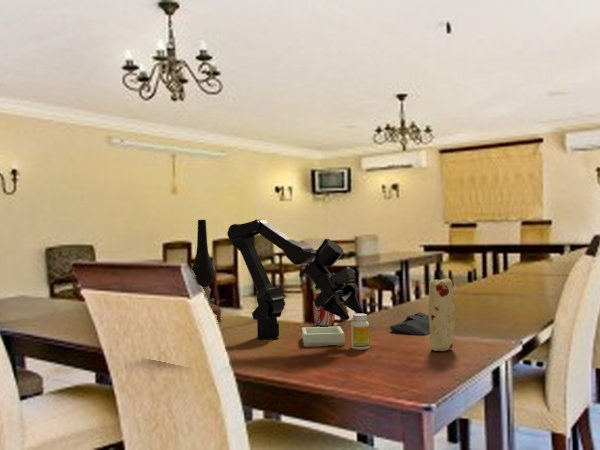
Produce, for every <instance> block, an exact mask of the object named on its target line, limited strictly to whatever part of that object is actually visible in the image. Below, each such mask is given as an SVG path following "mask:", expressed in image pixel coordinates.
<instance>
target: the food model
mask: <svg viewBox="0 0 600 450" xmlns="http://www.w3.org/2000/svg"><path fill="white" fill-rule="evenodd" d="M428 284H429V286H428V288H429V289H428V290H429V291H428V312H427V313H428V314H427V315H429V328H430V334H429V342H430V343H429V344H430V345H429V346H430V350H431V351H432V350H433V351H435V352H437V351H439V352H446V351H449V350H451V349H453V347H454V344H453V343H454V333H455V323H456V307H455V296H454V288H453V287H454V286H453V282H452V280H451V278H448V277H446V278H442V279H433V280H432V281H431V280H430V281H429V283H428Z"/></svg>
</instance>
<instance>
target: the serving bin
mask: <svg viewBox="0 0 600 450" xmlns="http://www.w3.org/2000/svg"><path fill="white" fill-rule="evenodd" d="M345 336H346V334H345V332H344V331H343V329H342V327H341V326H339V325H337V326H328V327H320V326H312V327H311V326H307V327H306V326H304V327H302V328H301V339H303V340H302V343H304V344H303V346H304V347H325V346H326V347H328V346H327V345H337V346H345V345H346V344H345V343H346V342H345V341H346V339H345Z"/></svg>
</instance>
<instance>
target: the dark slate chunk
mask: <svg viewBox="0 0 600 450" xmlns="http://www.w3.org/2000/svg"><path fill="white" fill-rule="evenodd" d="M389 328H390V330H391V331H392V332H394V333H401V334H402V333H403V334H407V335H413V334H414V336H424V335H426V336H430V328H429V315H428V314H426V313H423V312H417V313H414V314H411V315H407V316H406V318H405V319H404V320H403V321H401V322H398V323H397V324H393V325H390V326H389Z"/></svg>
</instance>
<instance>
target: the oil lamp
mask: <svg viewBox="0 0 600 450" xmlns="http://www.w3.org/2000/svg"><path fill="white" fill-rule="evenodd" d="M207 231H208V230H207V220H206V219H197V233H196V234H197V239H196V240H197V242H196V253H195V258H194V261H193V265H192V267H191V269H192V270H193V271H194V273H195V275H196V277H197V280H198V282H199V284H200V285H201V286H202V287H203V289H204V291H205V293H206V295H207V298H208V301H209V303H210V305H211V307H212V310H213V312H214V313H215V314H216V315H217V320H218V322H219V323H218V324H220V323H222V320H223V319H222V317H221V307H220V306H218V305H216V304H215V303H214V302H215V298H213V297H211V299H210V298H209V296H210V294H211V291H212V289H211V288H210V287H209V286H210V285H211V284H212V283H213V282H214V281H215V278H216V272H215V267H214V265H213V263H212V260H211V256H210V254H209V253H210V252H209V246H208V233H207Z"/></svg>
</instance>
